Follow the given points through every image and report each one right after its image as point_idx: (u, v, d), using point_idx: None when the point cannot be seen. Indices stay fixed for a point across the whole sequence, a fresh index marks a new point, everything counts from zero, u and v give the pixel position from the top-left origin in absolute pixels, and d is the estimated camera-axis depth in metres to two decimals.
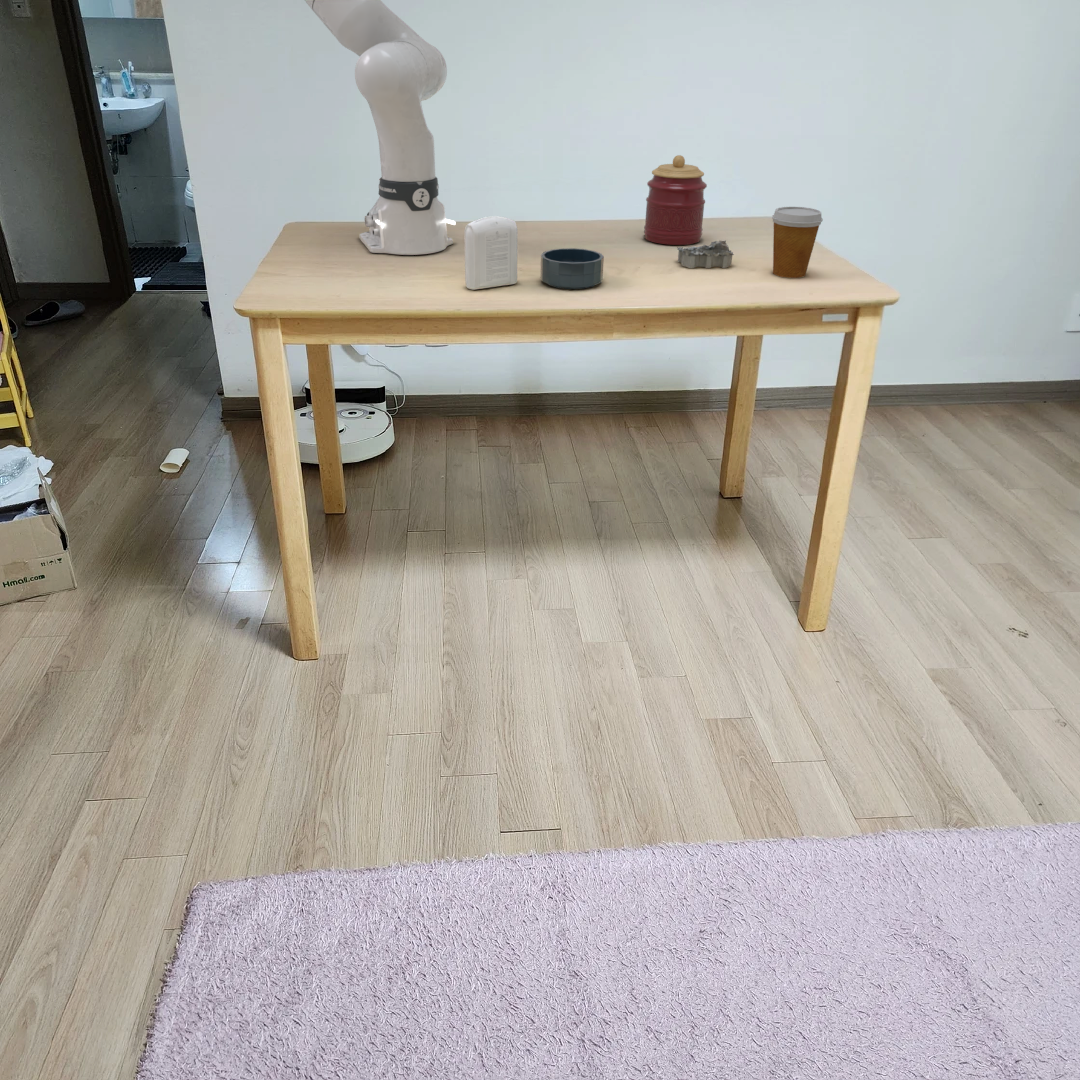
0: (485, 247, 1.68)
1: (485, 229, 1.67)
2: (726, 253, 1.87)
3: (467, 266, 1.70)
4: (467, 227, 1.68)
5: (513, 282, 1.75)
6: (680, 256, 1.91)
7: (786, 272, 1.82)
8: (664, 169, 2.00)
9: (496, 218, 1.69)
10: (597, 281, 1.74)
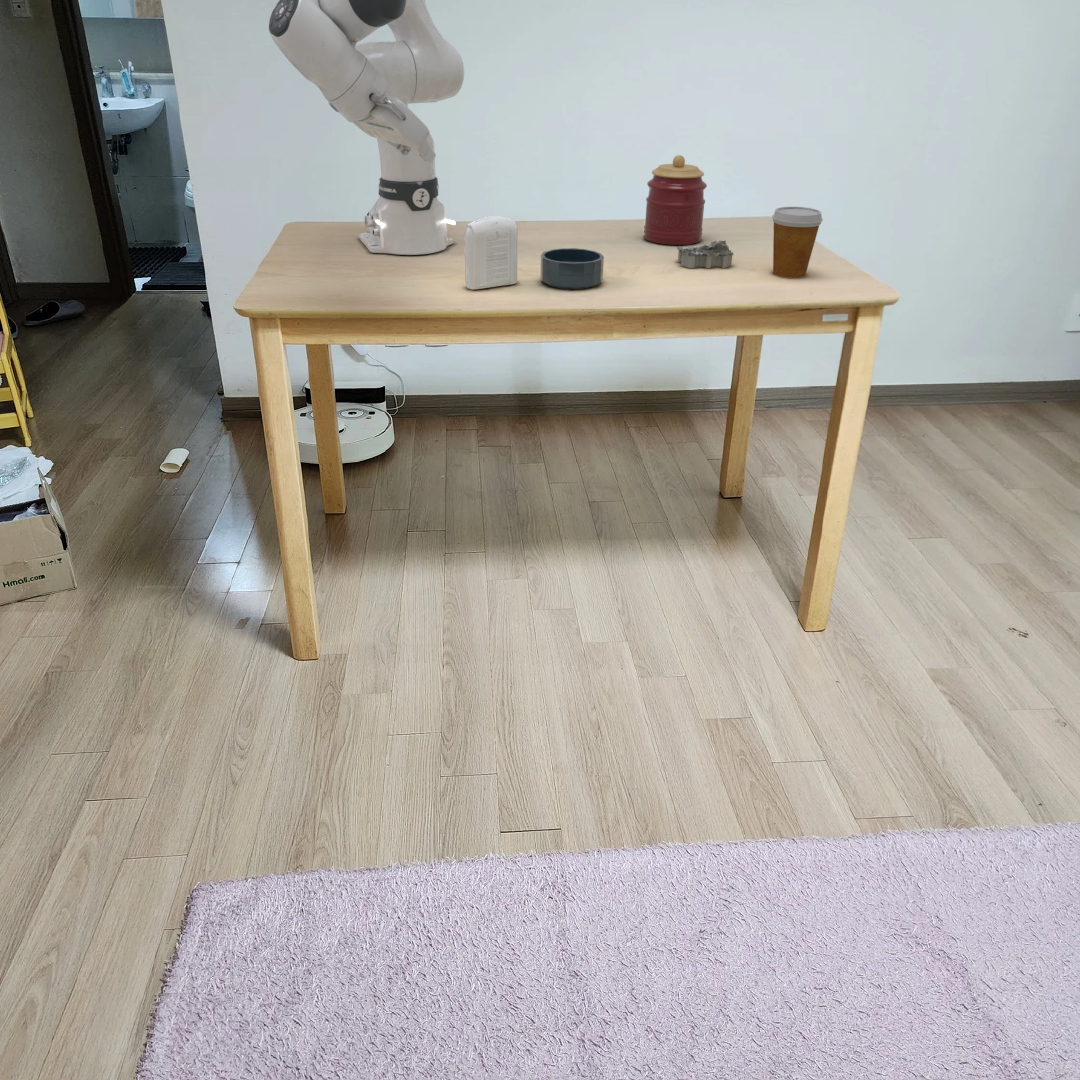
0: (485, 247, 1.68)
1: (485, 229, 1.67)
2: (726, 253, 1.87)
3: (467, 266, 1.70)
4: (467, 227, 1.68)
5: (513, 282, 1.75)
6: (680, 256, 1.91)
7: (786, 272, 1.82)
8: (664, 169, 2.00)
9: (496, 218, 1.69)
10: (597, 281, 1.74)
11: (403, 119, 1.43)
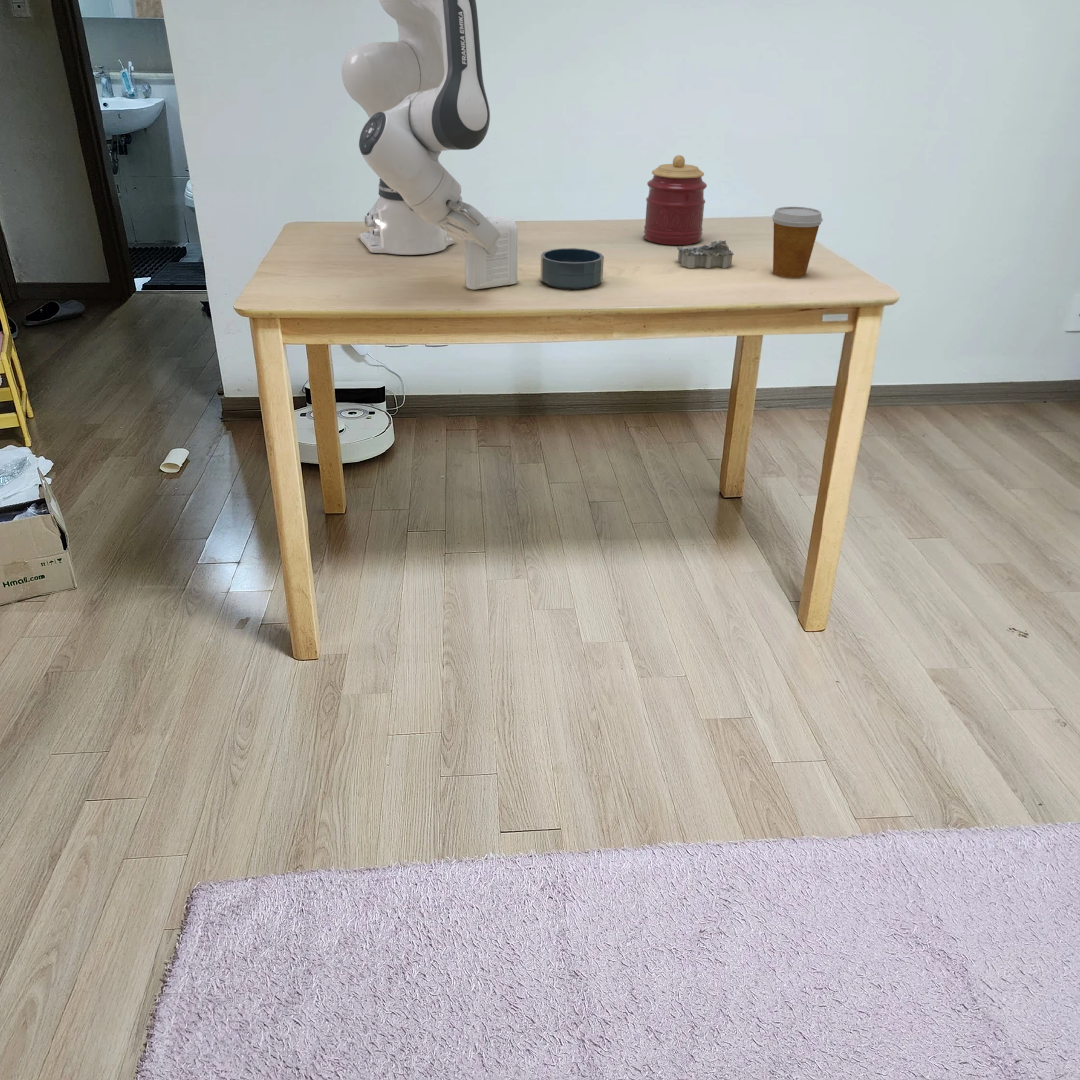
0: None
1: None
2: (726, 253, 1.87)
3: (467, 266, 1.70)
4: None
5: (513, 282, 1.75)
6: (680, 256, 1.91)
7: (786, 272, 1.82)
8: (664, 169, 2.00)
9: (496, 218, 1.68)
10: (597, 281, 1.74)
11: (477, 224, 1.58)
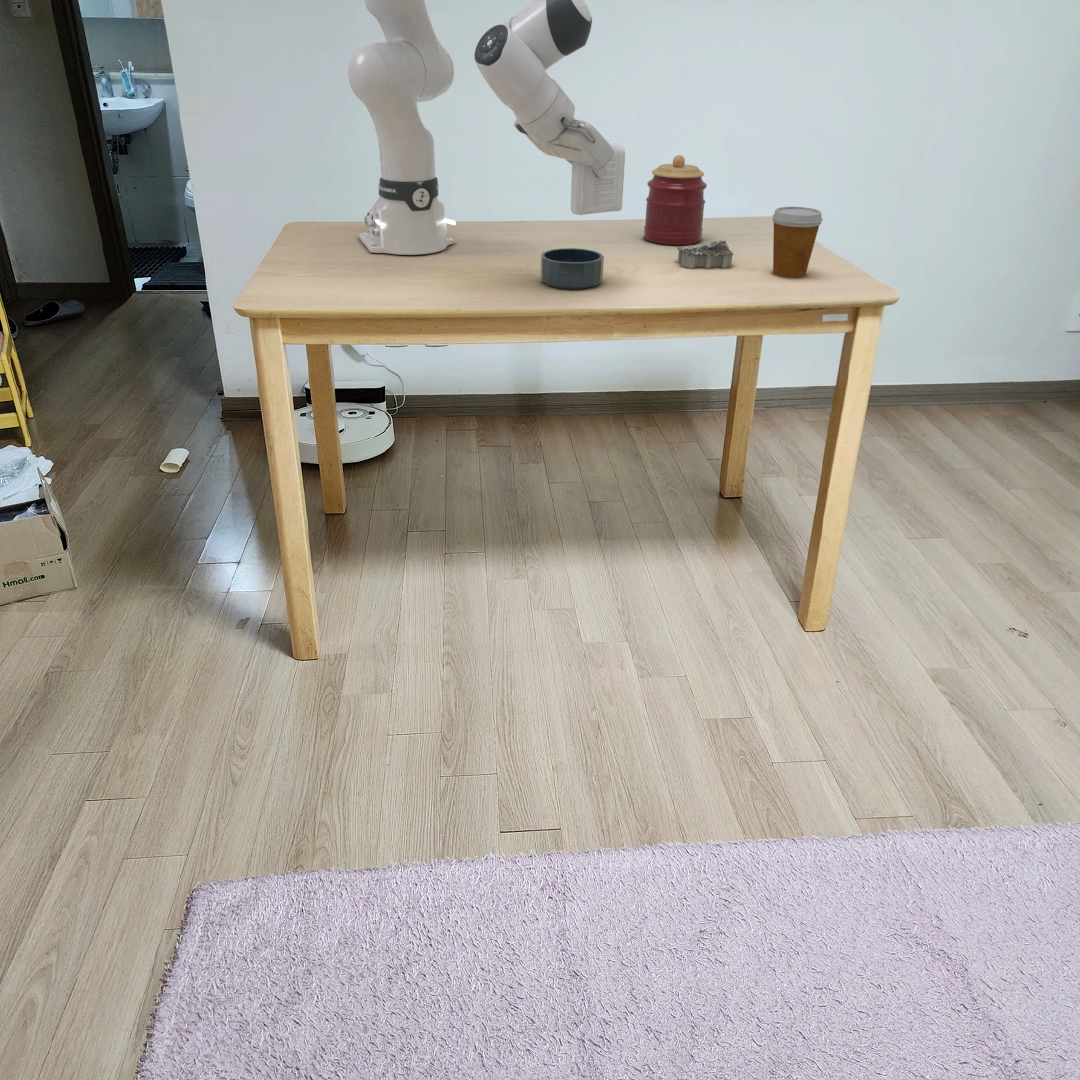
0: None
1: None
2: (726, 253, 1.87)
3: (575, 191, 1.68)
4: None
5: (618, 209, 1.73)
6: (680, 256, 1.91)
7: (786, 272, 1.82)
8: (664, 169, 2.00)
9: None
10: (597, 281, 1.74)
11: (593, 141, 1.55)
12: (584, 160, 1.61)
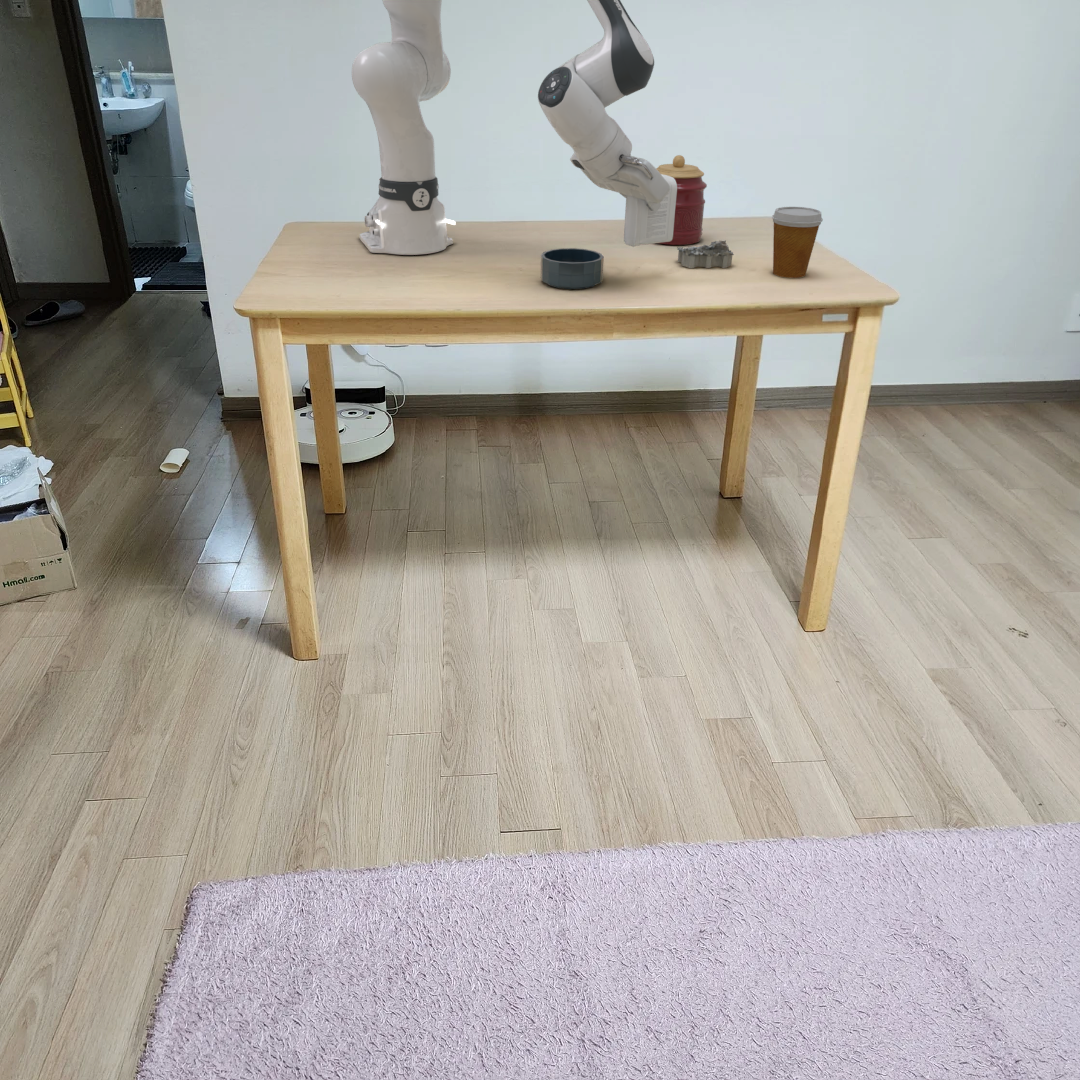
0: None
1: None
2: (726, 253, 1.87)
3: (628, 223, 1.73)
4: None
5: (669, 239, 1.78)
6: (680, 256, 1.91)
7: (786, 272, 1.82)
8: (664, 169, 2.00)
9: None
10: (597, 281, 1.74)
11: (651, 178, 1.60)
12: (640, 195, 1.66)
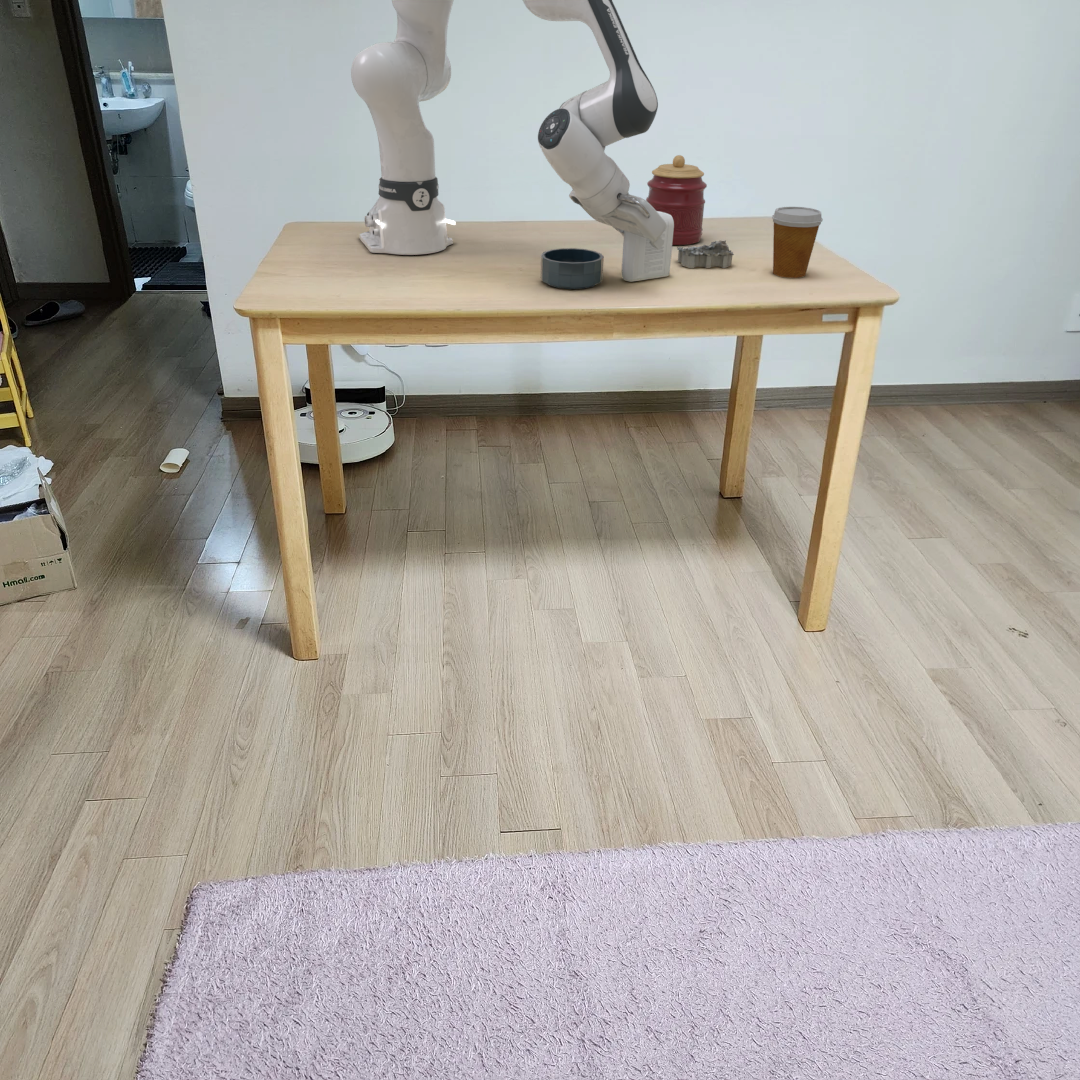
0: (644, 241, 1.75)
1: None
2: (726, 253, 1.87)
3: (626, 259, 1.76)
4: None
5: (666, 274, 1.81)
6: (680, 256, 1.91)
7: (786, 272, 1.82)
8: (664, 169, 2.00)
9: None
10: (597, 281, 1.74)
11: (648, 216, 1.64)
12: (637, 232, 1.69)
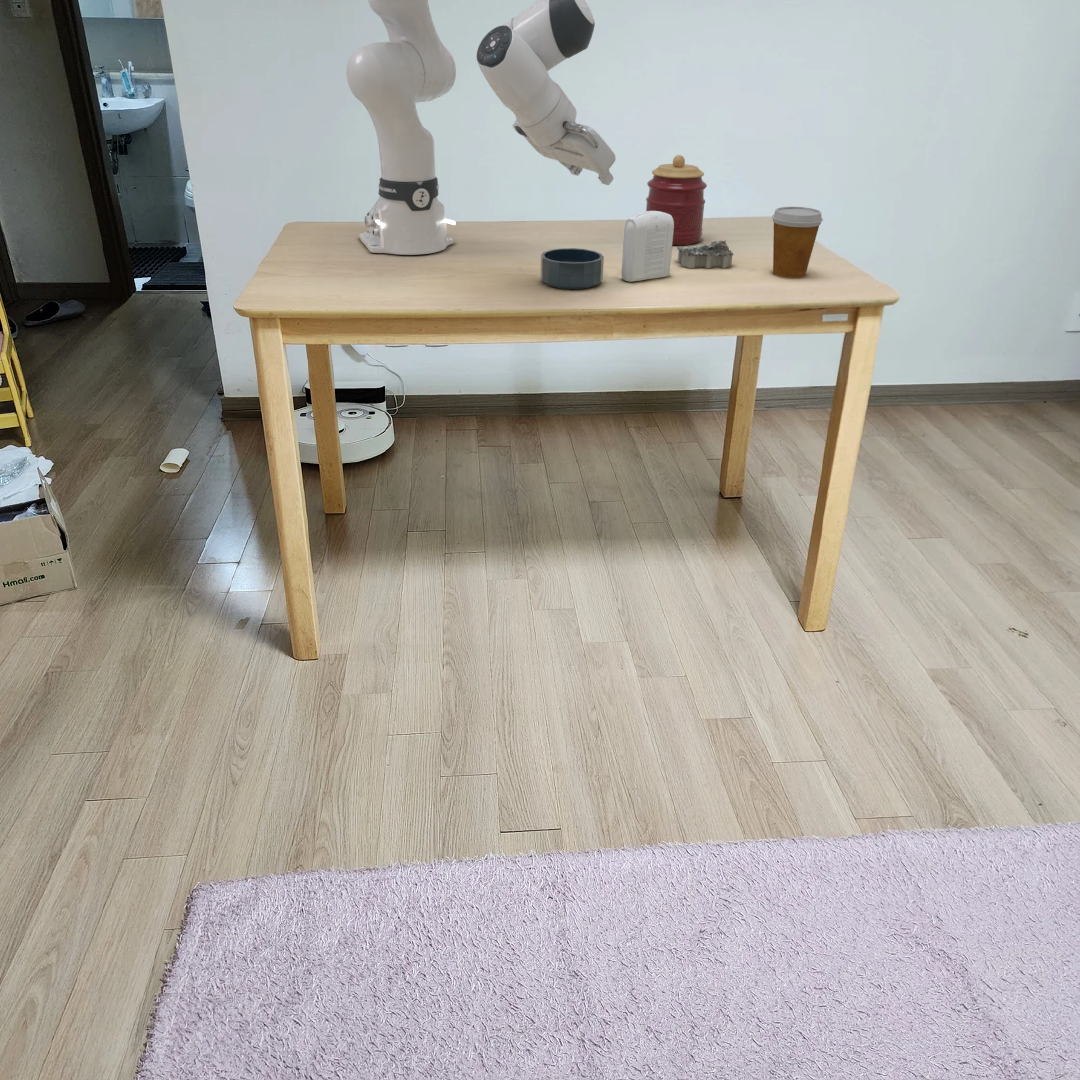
0: (644, 241, 1.75)
1: (646, 223, 1.73)
2: (726, 253, 1.87)
3: (626, 259, 1.76)
4: (628, 221, 1.74)
5: (666, 274, 1.81)
6: (680, 256, 1.91)
7: (786, 272, 1.82)
8: (664, 169, 2.00)
9: (655, 212, 1.75)
10: (597, 281, 1.74)
11: (595, 146, 1.53)
12: (585, 165, 1.59)
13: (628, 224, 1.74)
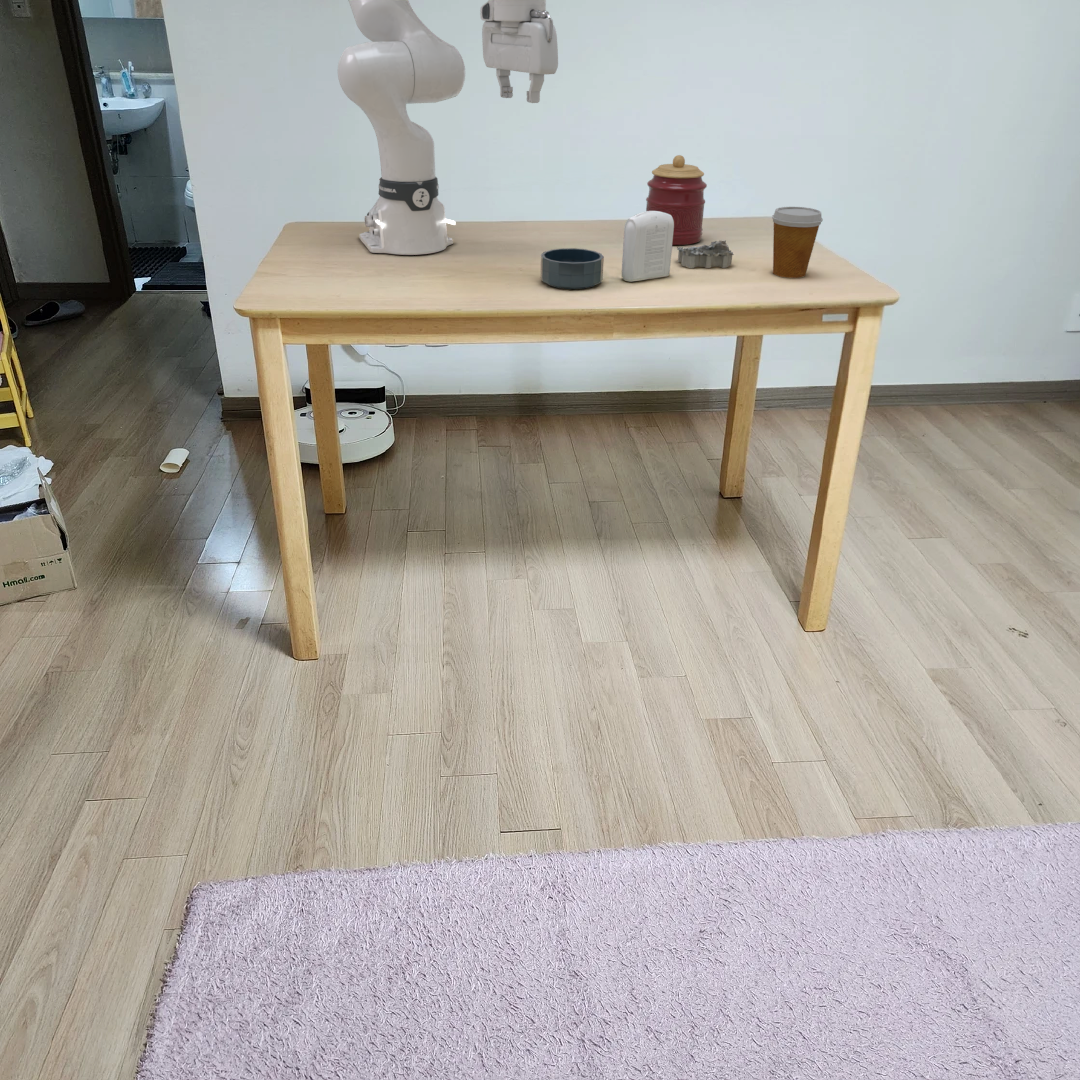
0: (644, 241, 1.75)
1: (646, 223, 1.73)
2: (726, 253, 1.87)
3: (626, 259, 1.76)
4: (628, 221, 1.74)
5: (666, 274, 1.81)
6: (680, 256, 1.91)
7: (786, 272, 1.82)
8: (664, 169, 2.00)
9: (655, 212, 1.75)
10: (597, 281, 1.74)
11: (548, 40, 1.52)
12: (526, 62, 1.56)
13: (628, 224, 1.74)
